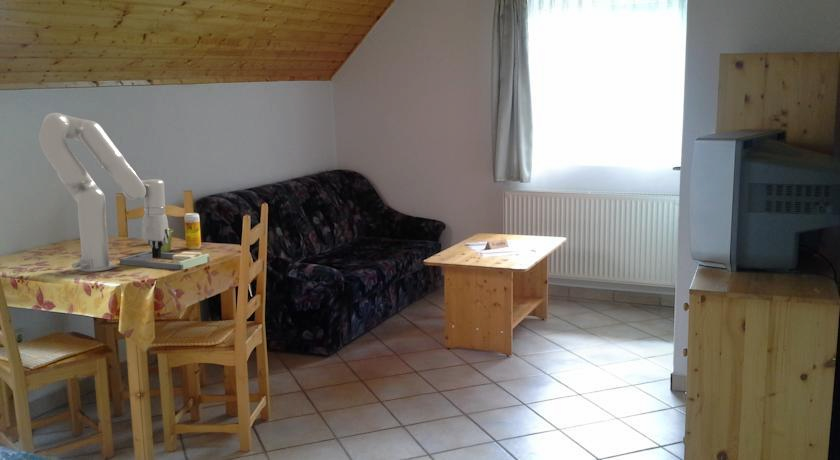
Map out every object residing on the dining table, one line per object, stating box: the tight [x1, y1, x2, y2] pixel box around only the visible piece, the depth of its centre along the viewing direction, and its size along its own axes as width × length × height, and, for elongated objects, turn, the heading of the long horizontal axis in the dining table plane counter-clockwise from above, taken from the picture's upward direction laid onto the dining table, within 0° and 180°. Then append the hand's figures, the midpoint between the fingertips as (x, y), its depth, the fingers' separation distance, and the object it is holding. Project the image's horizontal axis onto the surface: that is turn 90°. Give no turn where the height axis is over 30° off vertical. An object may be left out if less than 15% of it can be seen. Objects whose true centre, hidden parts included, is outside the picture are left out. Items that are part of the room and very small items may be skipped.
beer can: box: [184, 212, 202, 250], centre depth 328 cm, size 6×6×15 cm
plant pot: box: [161, 228, 174, 253], centre depth 322 cm, size 9×9×9 cm
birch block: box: [172, 251, 203, 264], centre depth 298 cm, size 8×8×4 cm
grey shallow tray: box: [119, 250, 210, 271], centre depth 300 cm, size 16×30×3 cm, turn 67°
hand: (156, 257), depth 300 cm, fingers closed
